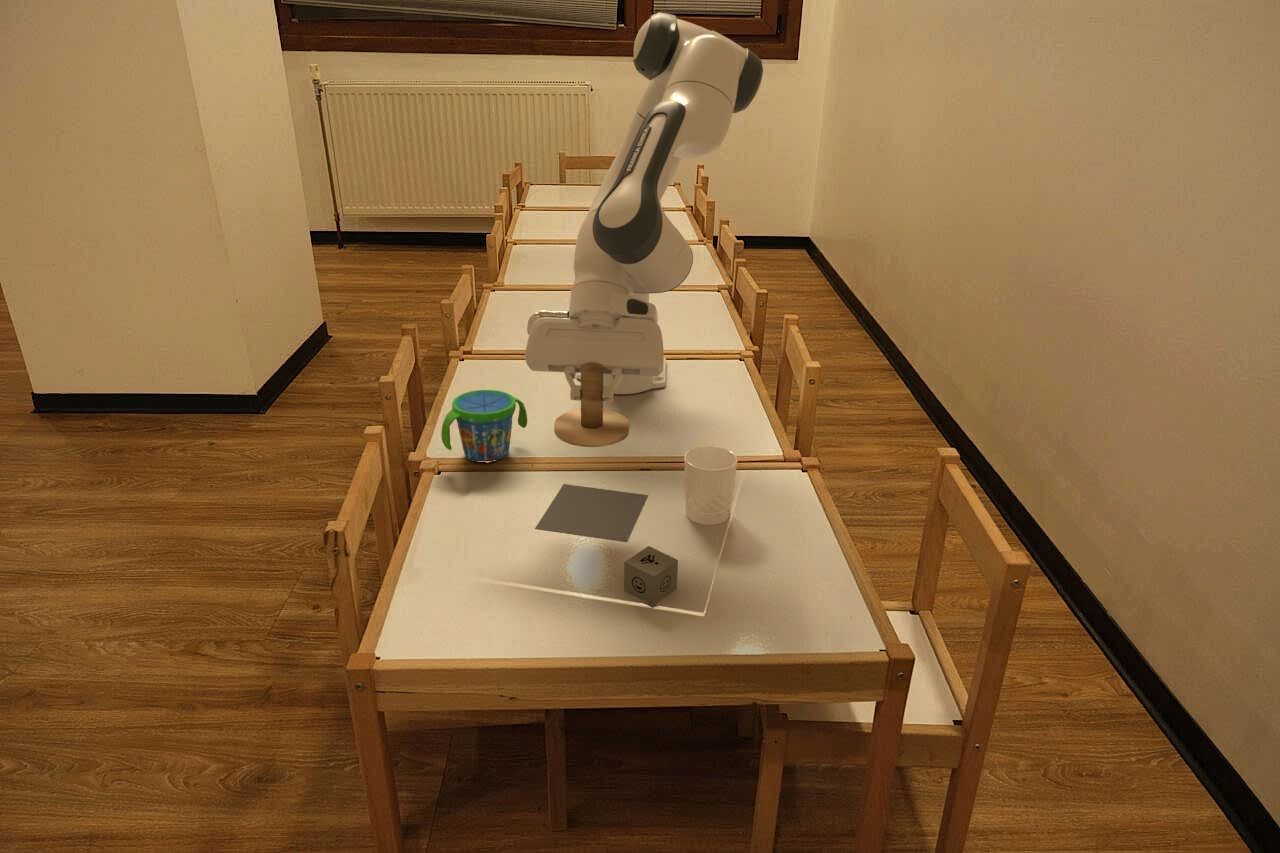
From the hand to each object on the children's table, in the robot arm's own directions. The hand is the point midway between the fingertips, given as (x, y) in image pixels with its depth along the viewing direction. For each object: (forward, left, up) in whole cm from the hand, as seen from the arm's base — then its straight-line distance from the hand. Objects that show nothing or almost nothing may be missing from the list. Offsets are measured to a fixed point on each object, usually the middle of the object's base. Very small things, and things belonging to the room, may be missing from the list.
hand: (591, 399), depth 129 cm
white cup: (-5, +17, -20) cm, 26 cm away
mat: (-1, 0, -19) cm, 19 cm away
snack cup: (-15, -23, -20) cm, 33 cm away
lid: (-1, 0, -5) cm, 5 cm away
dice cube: (+17, +13, -20) cm, 29 cm away
